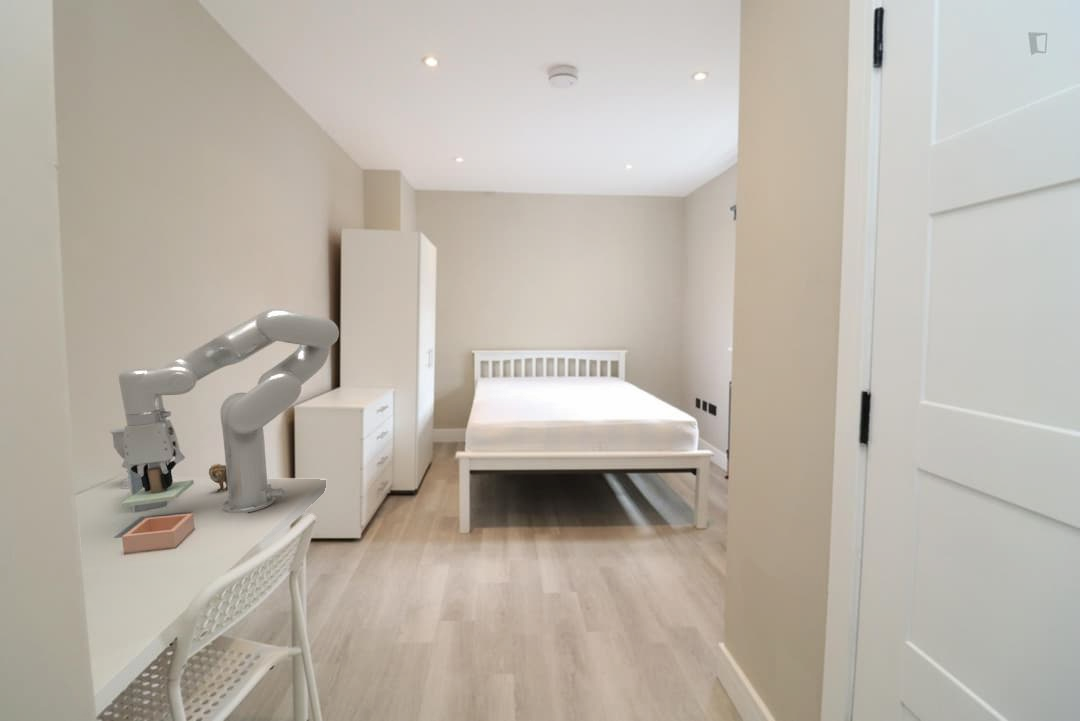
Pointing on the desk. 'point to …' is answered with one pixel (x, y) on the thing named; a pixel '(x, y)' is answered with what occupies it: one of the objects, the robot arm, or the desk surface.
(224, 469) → the lion figurine
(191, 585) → the desk surface
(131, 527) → the mat
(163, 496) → the lid
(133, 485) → the hard drive box
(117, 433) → the chalice
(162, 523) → the dish
